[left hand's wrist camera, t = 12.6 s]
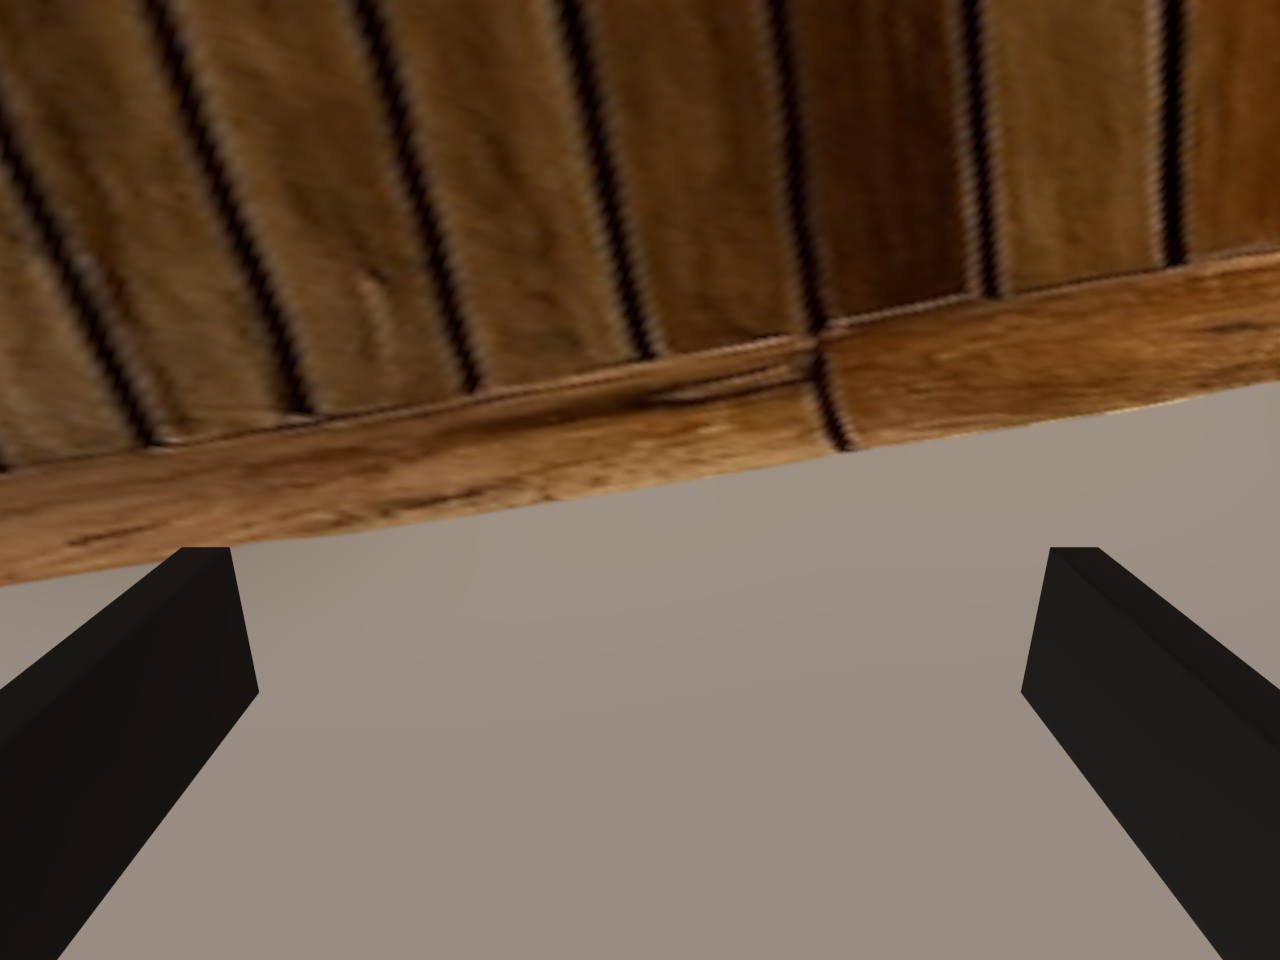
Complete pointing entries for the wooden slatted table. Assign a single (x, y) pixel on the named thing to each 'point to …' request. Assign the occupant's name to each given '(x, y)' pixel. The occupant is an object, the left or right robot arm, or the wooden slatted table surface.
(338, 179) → the wooden slatted table surface
